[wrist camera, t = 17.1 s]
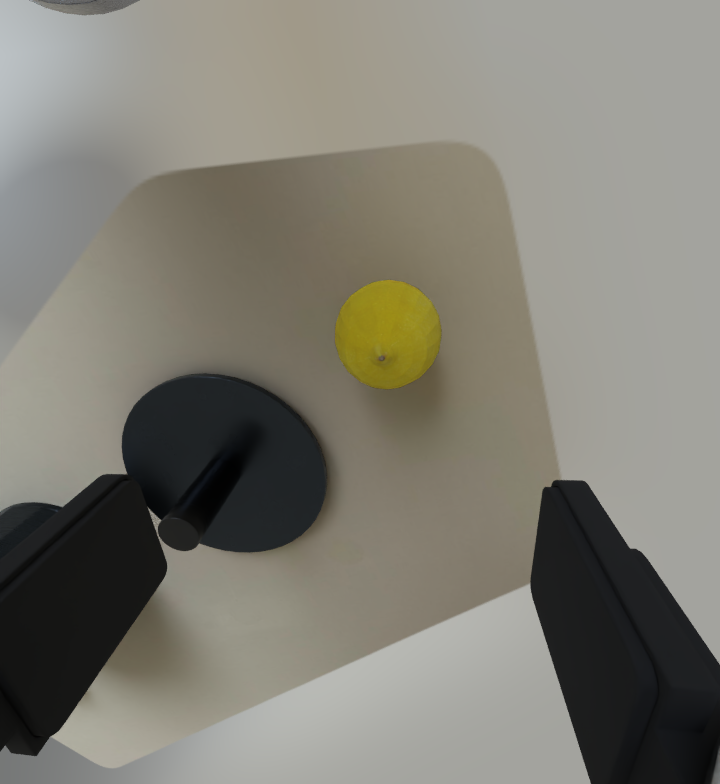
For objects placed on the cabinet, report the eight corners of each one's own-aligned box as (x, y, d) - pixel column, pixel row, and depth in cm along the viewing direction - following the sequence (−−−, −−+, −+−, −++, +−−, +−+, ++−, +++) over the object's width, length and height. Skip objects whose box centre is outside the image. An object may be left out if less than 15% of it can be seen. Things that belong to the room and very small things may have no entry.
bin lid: (107, 368, 28) (13, 416, 22) (321, 371, 27) (291, 425, 20) (158, 535, 35) (98, 612, 28) (334, 547, 33) (314, 633, 26)
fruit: (374, 374, 26) (361, 435, 19) (329, 300, 25) (295, 337, 17) (452, 333, 25) (469, 384, 17) (409, 252, 23) (408, 270, 16)
